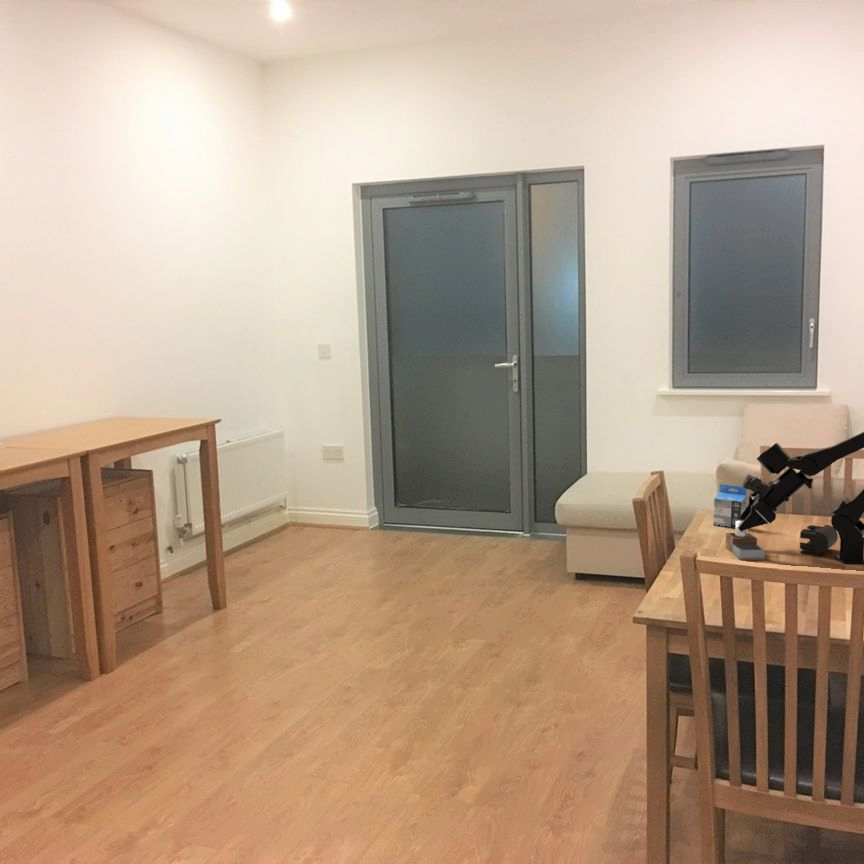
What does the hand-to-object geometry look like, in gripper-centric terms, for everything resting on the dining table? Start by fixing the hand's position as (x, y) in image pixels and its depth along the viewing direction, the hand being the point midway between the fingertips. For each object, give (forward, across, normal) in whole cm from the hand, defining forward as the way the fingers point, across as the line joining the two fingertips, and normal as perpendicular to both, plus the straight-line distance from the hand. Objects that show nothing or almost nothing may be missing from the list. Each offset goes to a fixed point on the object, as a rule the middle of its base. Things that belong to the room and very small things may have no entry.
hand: (738, 525), depth 248 cm
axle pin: (+4, 0, +5) cm, 7 cm away
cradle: (+3, +6, +6) cm, 10 cm away
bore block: (+4, 0, +5) cm, 7 cm away
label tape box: (+6, -28, +4) cm, 29 cm away
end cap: (-10, -3, +20) cm, 22 cm away
